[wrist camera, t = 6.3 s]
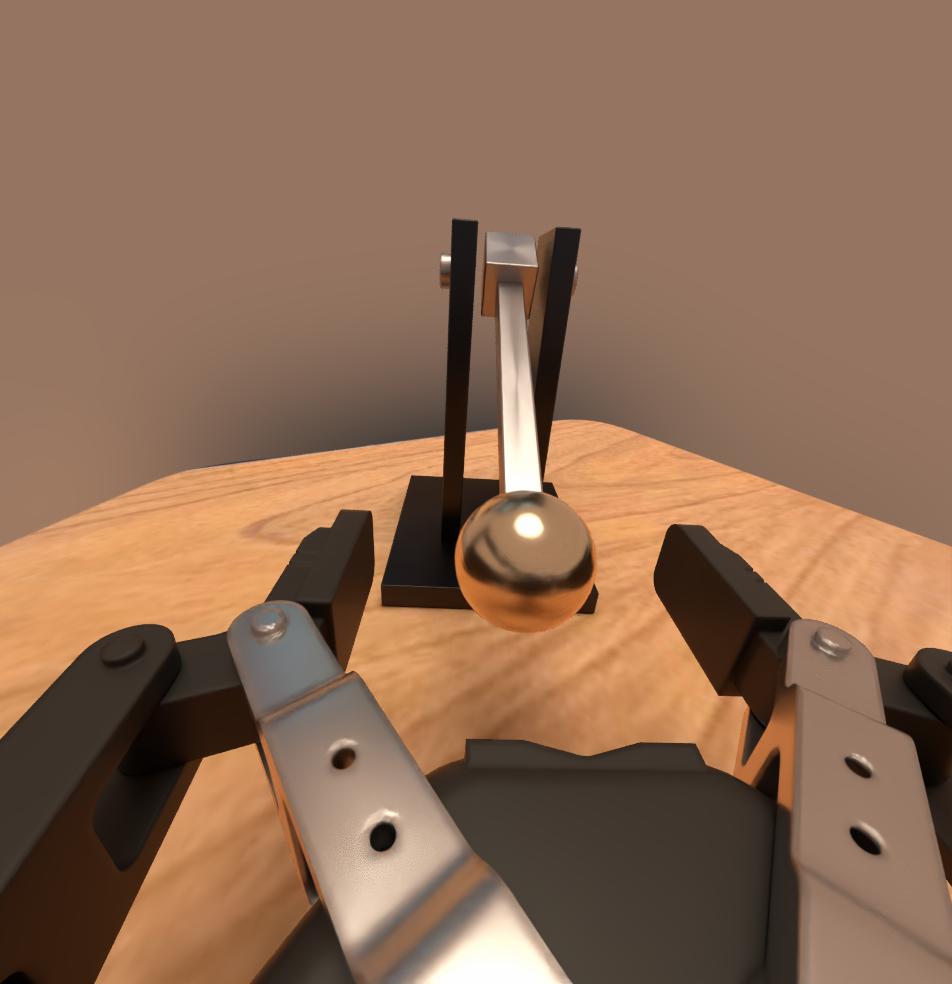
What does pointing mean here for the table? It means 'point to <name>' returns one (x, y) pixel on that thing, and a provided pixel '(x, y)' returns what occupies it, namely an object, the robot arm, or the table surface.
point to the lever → (520, 477)
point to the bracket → (452, 499)
